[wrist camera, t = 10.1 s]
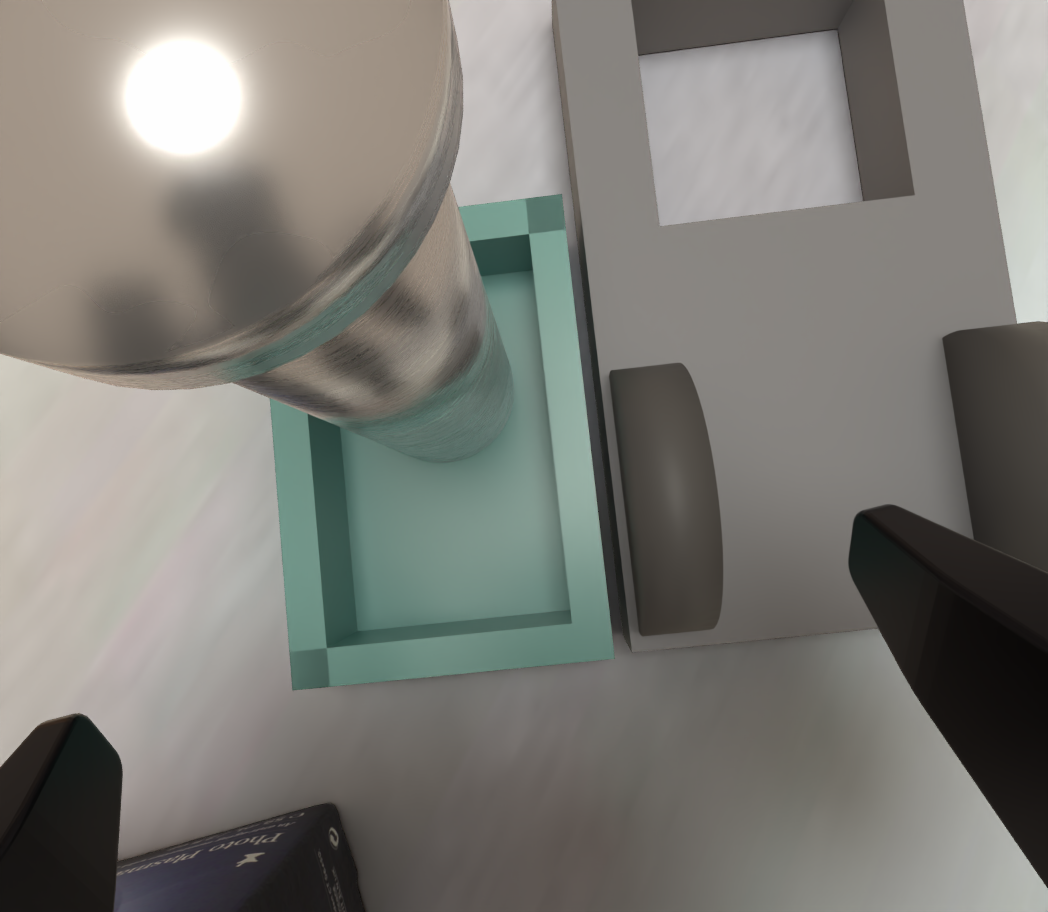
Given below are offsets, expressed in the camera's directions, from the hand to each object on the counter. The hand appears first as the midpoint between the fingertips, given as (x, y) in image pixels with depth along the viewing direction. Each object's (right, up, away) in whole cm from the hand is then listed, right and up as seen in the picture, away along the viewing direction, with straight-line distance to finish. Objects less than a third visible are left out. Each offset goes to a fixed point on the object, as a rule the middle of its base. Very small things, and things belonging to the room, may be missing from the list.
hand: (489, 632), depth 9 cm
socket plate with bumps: (+6, +6, +10) cm, 14 cm away
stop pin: (-2, +4, +10) cm, 11 cm away
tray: (-2, +2, +10) cm, 11 cm away
